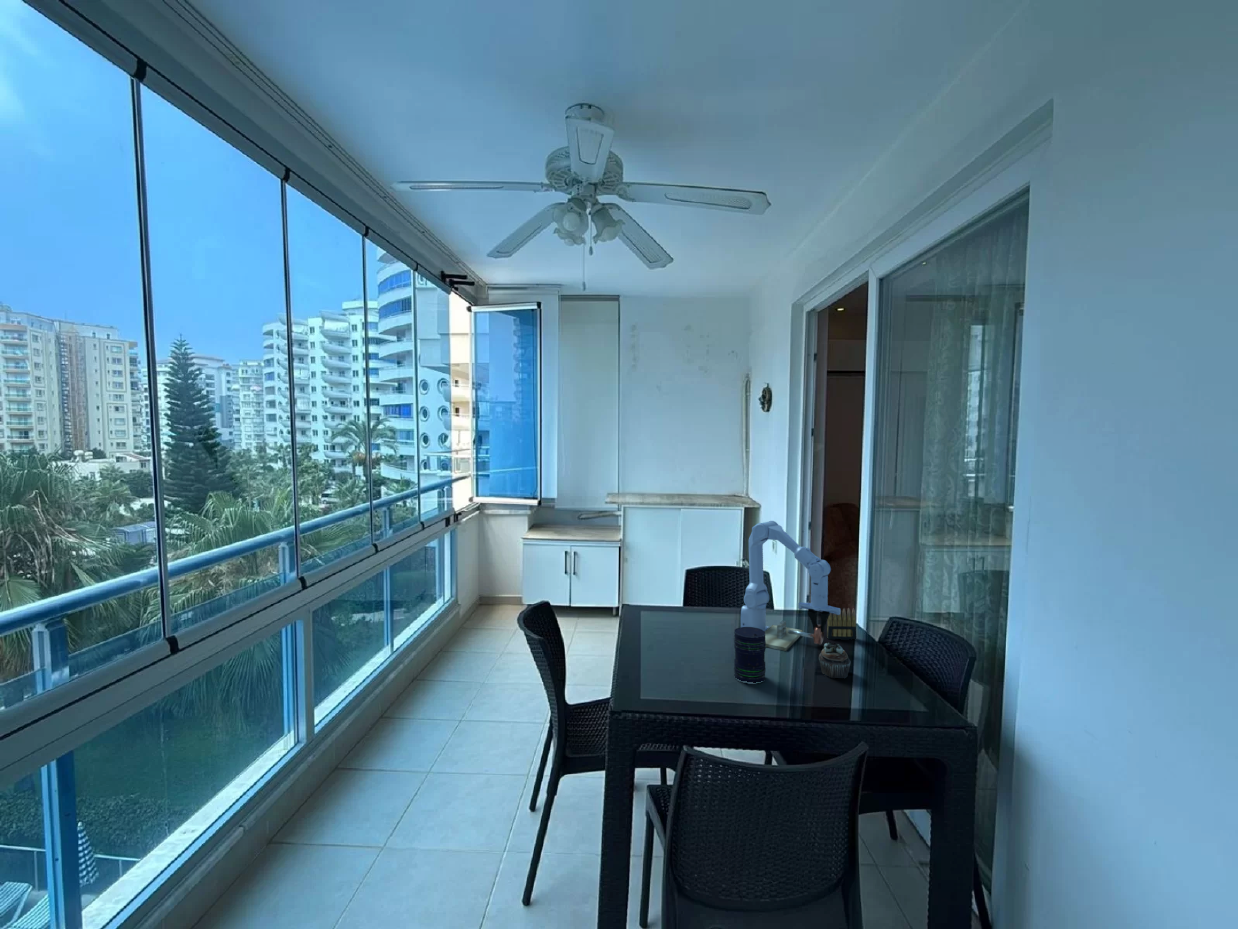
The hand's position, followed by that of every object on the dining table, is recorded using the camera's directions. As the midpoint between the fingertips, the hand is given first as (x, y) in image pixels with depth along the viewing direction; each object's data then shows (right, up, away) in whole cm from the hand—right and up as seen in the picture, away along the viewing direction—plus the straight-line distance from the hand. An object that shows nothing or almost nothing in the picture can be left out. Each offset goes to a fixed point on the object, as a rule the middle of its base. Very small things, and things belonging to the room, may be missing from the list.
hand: (818, 630), depth 204 cm
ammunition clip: (+12, -6, +8) cm, 15 cm away
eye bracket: (-12, -6, +8) cm, 15 cm away
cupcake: (-4, -7, -24) cm, 25 cm away
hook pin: (-4, -5, +3) cm, 7 cm away
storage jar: (-32, -7, -27) cm, 42 cm away
